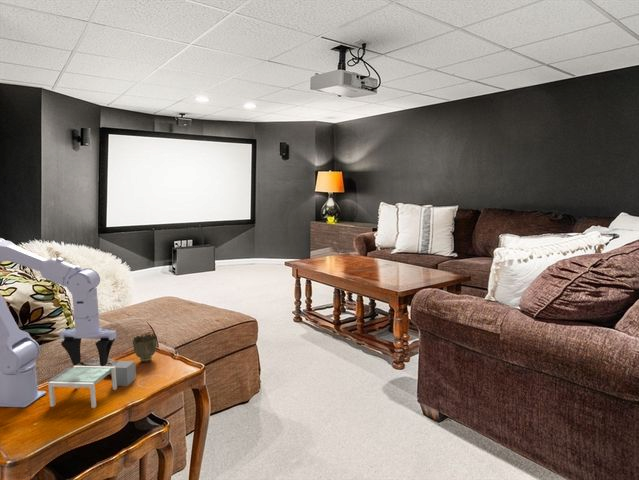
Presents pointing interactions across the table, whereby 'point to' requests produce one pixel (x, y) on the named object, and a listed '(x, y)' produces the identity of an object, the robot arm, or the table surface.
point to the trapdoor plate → (81, 375)
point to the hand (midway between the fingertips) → (90, 364)
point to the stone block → (125, 372)
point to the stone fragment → (97, 362)
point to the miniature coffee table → (81, 385)
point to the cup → (145, 347)
